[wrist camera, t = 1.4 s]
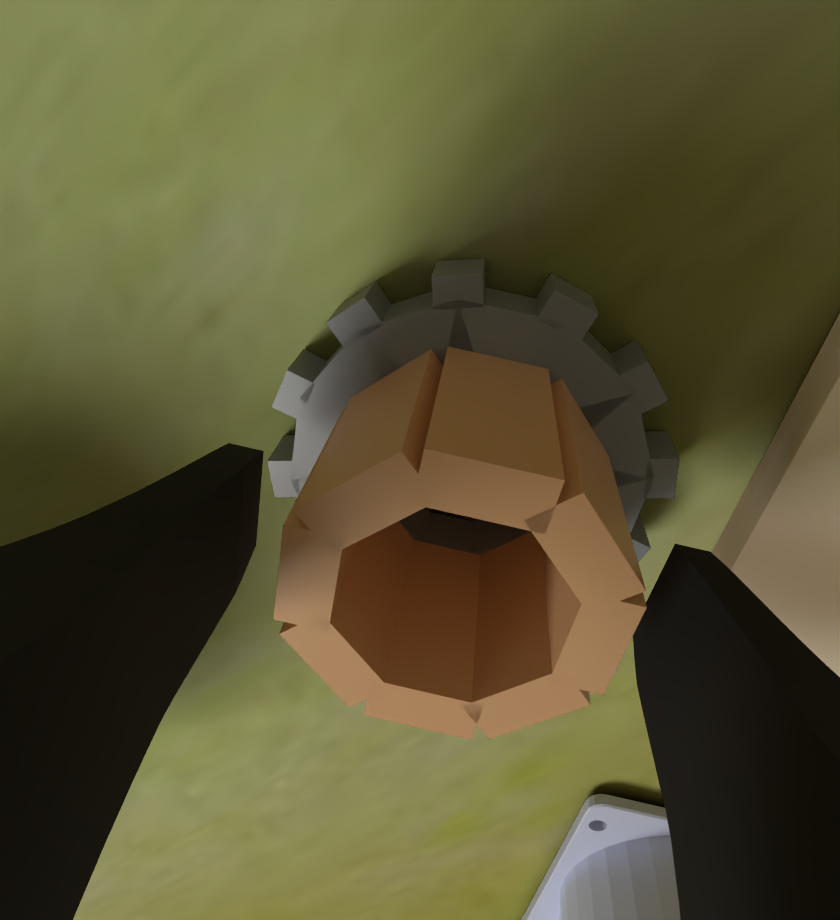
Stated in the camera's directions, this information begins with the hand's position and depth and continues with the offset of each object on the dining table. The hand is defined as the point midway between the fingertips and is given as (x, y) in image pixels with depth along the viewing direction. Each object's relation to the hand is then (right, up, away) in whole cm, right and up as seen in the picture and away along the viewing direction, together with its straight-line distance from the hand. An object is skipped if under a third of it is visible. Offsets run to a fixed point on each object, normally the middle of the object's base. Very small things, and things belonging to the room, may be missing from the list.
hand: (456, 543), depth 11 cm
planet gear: (0, +2, +3) cm, 4 cm away
